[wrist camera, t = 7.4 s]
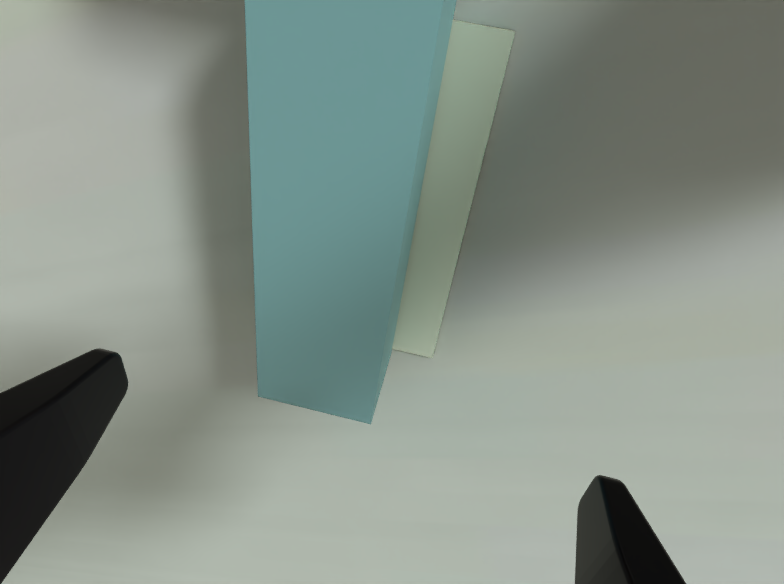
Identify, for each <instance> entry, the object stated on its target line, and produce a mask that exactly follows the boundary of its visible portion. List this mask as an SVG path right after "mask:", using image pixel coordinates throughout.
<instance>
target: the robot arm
mask: <svg viewBox="0 0 784 584" xmlns="http://www.w3.org/2000/svg"><path fill="white" fill-rule="evenodd" d="M127 388H128V379H127V375H126V372H125V369H124V365H123V362H122V358H121V356H120V355H119V354H118V353H116V352H113V351H109V350H105V349H94V350H91V351H89V352H87V353H85V354H83V355H81V356H79V357H76V358H74V359H72V360H70V361H68V362H66V363H64V364H62V365H59V366H57V367H55V368H53V369H51V370H49V371H47V372H44V373H42V374H40V375H38V376H36V377H34V378H32V379H30V380H27V381H25V382H23V383H21V384H19V385H17V386H15V387H12V388H10V389H8V390H6V391H4V392H2V393H0V584H1V583H2V582H3V580H4V579H5V577H6V576H7V574H8V573H9V572H10V570H11V569H12V567H13V566H14V565H15V563H16V562H17V560H18V559H19V558H20V556H21V555H22V553H23V552H24V550H25V549H26V548H27V546H28V545H29V543H30V542H31V541H32V539H33V538H34V536H35V535H36V534H37V532H38V531H39V529H40V528H41V526H42V525H43V524H44V522H45V521H46V519H47V518H48V517H49V515H50V514H51V512H52V511H53V510H54V508H55V507H56V505H57V504H58V502H59V501H60V500H61V498H62V497H63V495H64V494H65V493H66V491H67V490H68V488H69V487H70V485H71V484H72V483H73V481H74V480H75V478H76V477H77V476H78V474H79V473H80V471H81V470H82V468H83V467H84V465H85V464H86V462H87V460H88V459H89V457H90V456H91V454H92V452H93V450H94V449H95V447H96V445H97V443H98V442H99V440H100V438H101V436H102V435H103V433H104V431H105V429H106V428H107V426H108V424H109V422H110V420H111V419H112V417H113V415H114V413H115V412H116V410H117V408H118V406H119V405H120V403H121V401H122V399H123V398H124V396H125V394H126V391H127ZM575 584H686V583H685V581H684V579H683V578H682V576H681V575H680V573H679V571H678V570H677V568H676V566H675V565H674V563H673V562H672V560H671V558H670V557H669V555H668V554H667V552H666V550H665V549H664V547H663V546H662V544H661V542H660V541H659V539H658V537H657V536H656V534H655V533H654V531H653V529H652V528H651V526H650V525H649V523H648V521H647V520H646V518H645V517H644V515H643V513H642V512H641V510H640V508H639V507H638V505H637V504H636V502H635V500H634V499H633V497H632V496H631V494H630V492H629V491H628V489H627V488H626V486H625V485H624V484H623V483H622V482H621V481H620V480H618V479H614V478H610V477H606V476H602V475H598V476H596V477H595V478H594V479H593V481H592V482H591V484H590V485H589V487H588V488H587V490H586V492H585V493H584V495H583V496H582V498H581V500H580V502H579V506H578V516H577V542H576V568H575Z"/></svg>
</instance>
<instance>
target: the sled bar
mask: <svg viewBox="0 0 784 584" xmlns="http://www.w3.org/2000/svg"><path fill="white" fill-rule="evenodd" d="M455 6H456V0H245V24H246V54H247V83H248V113H249V143H250V173H251V202H252V232H253V262H254V291H255V321H256V351H257V380H258V396H259V397H263V398H267V399H271V400H275V401H279V402H283V403H287V404H291V405H295V406H299V407H303V408H307V409H311V410H315V411H319V412H323V413H327V414H331V415H336V416H340V417H344V418H348V419H352V420H356V421H360V422H364V423H368V424H371V422H372V418H373V415H374V411H375V408H376V404H377V401H378V397H379V394H380V390H381V387H382V383H383V380H384V376H385V373H386V369H387V366H388V362H389V359H390V356H391V352H392V346H393V341H394V335H395V330H396V325H397V319H398V314H399V308H400V303H401V298H402V292H403V287H404V281H405V276H406V270H407V265H408V260H409V254H410V249H411V243H412V238H413V233H414V227H415V222H416V216H417V211H418V206H419V200H420V195H421V189H422V184H423V179H424V173H425V168H426V162H427V157H428V152H429V146H430V141H431V135H432V130H433V125H434V119H435V114H436V108H437V103H438V98H439V92H440V87H441V81H442V76H443V71H444V65H445V60H446V54H447V49H448V43H449V38H450V33H451V27H452V22H453V16H454V11H455Z"/></svg>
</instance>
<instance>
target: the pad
mask: <svg viewBox="0 0 784 584" xmlns="http://www.w3.org/2000/svg"><path fill="white" fill-rule="evenodd" d="M514 35H515V31H513V30H507V29H502V28H496V27H491V26H485V25H480V24H474V23H469V22H464V21H458V20H453V22H452V27H451V33H450V38H449V43H448V49H447V54H446V60H445V65H444V71H443V76H442V81H441V87H440V92H439V98H438V103H437V108H436V114H435V119H434V125H433V130H432V135H431V141H430V146H429V152H428V157H427V162H426V168H425V173H424V179H423V184H422V189H421V195H420V200H419V206H418V211H417V216H416V222H415V227H414V233H413V238H412V243H411V249H410V254H409V260H408V265H407V270H406V276H405V281H404V287H403V292H402V298H401V303H400V308H399V314H398V319H397V325H396V330H395V335H394V341H393V346H392V349H395V350H399V351H404V352H408V353H412V354H416V355H421V356H425V357H429V358H433V354H434V350H435V346H436V342H437V338H438V334H439V330H440V327H441V323H442V319H443V315H444V311H445V307H446V303H447V299H448V295H449V291H450V287H451V283H452V279H453V275H454V271H455V268H456V264H457V260H458V256H459V252H460V248H461V244H462V240H463V236H464V232H465V228H466V224H467V220H468V216H469V212H470V208H471V205H472V201H473V197H474V193H475V189H476V185H477V181H478V177H479V173H480V169H481V165H482V161H483V157H484V153H485V149H486V146H487V142H488V138H489V134H490V130H491V126H492V122H493V118H494V114H495V110H496V106H497V102H498V98H499V94H500V90H501V87H502V83H503V79H504V75H505V71H506V67H507V63H508V59H509V55H510V51H511V47H512V43H513V39H514Z"/></svg>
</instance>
